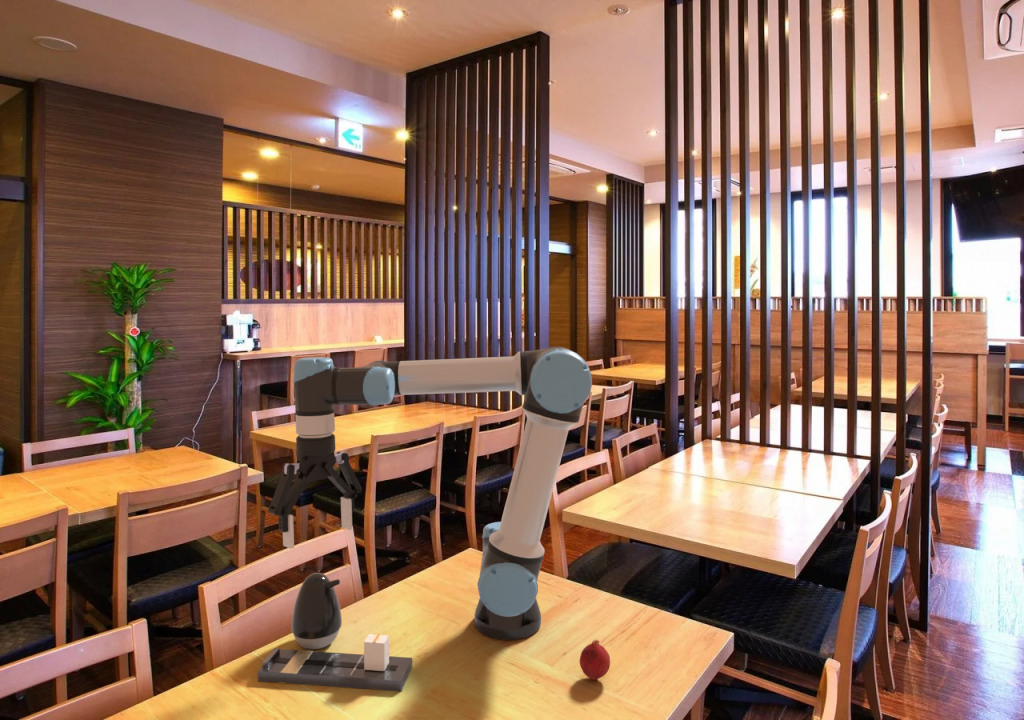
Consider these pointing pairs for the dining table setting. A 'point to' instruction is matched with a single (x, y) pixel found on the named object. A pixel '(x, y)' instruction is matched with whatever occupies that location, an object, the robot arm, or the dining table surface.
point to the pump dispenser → (316, 612)
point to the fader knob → (376, 652)
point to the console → (332, 670)
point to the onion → (594, 660)
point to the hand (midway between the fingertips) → (318, 537)
